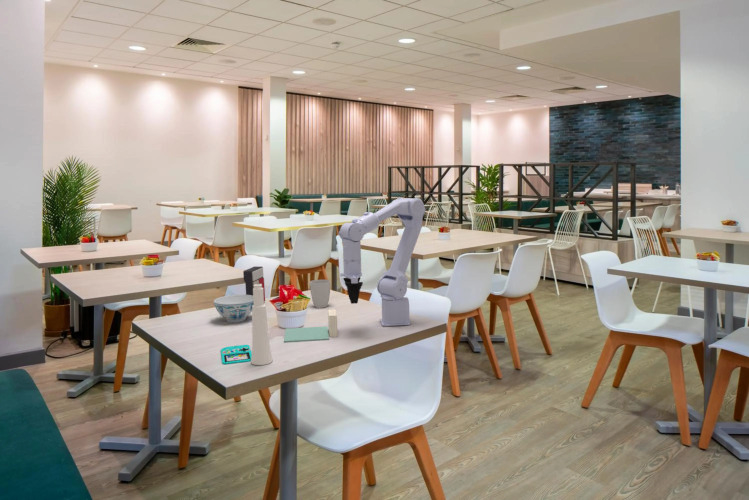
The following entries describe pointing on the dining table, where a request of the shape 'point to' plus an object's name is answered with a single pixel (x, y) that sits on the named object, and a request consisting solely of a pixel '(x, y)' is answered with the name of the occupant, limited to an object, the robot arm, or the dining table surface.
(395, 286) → the robot arm
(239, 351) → the handheld gaming console
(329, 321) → the card box
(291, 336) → the mat
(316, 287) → the cup
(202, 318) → the dining table surface
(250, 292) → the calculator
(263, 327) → the cosmetic bottle
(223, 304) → the chinaware
